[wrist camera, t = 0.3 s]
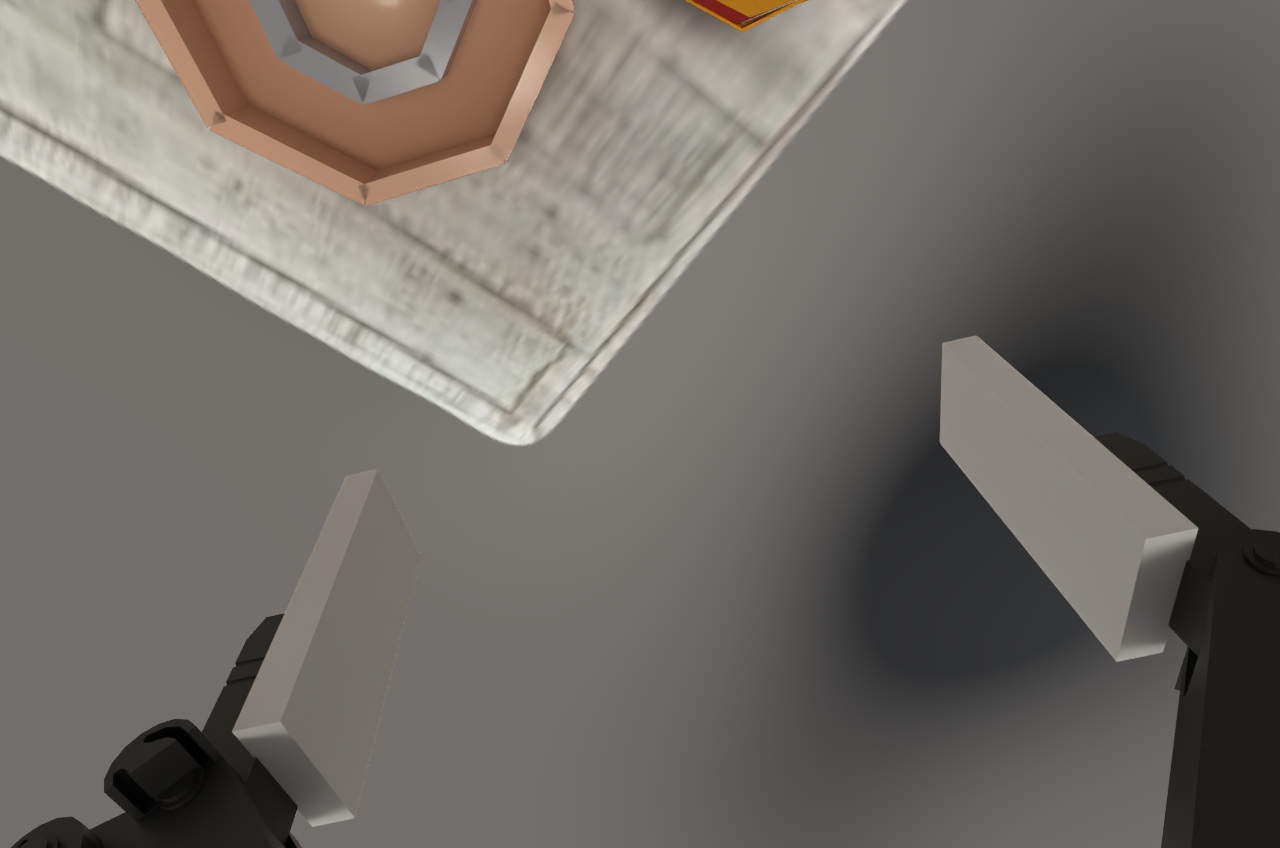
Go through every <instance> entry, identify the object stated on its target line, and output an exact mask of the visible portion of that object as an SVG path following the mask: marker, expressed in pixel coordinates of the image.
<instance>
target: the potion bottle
mask: <svg viewBox="0 0 1280 848" xmlns="http://www.w3.org/2000/svg"><path fill="white" fill-rule="evenodd" d="M685 1H687V2H689V3H691V4H693V5H694V6H696V7H698V8H700V9H702V10H703V11H705V12H707V13H709V14H711V15H712V16H714V17H716V18H718V19H720V20H721V21H723V22H725V23H727V24H729V25H730V26H732V27H734V28H736V29H738V30H739V31H741V32H743V31H745V30H747V29H749V28H751V27H753V26H755V25H757V24H759V23H761V22H763V21H765V20H767V19H769V18H771V17H773V16H775V15H777V14H779V13H781V12H783V11H785V10H787V9H789V8H791V7H793V6H795V5H797V4H800V3H802V2H804V1H807V0H798V1H796V2H793V3H791V4H788V5H786V6H784V7H781V8H779V9H776V10H774V11H771V12H769V13H767V14H764V15H762V16H759V17H757V18H754V19H752V20H750V21H747V22H745V23H742V24H741V22H744V21H746V20H748V19H751V18H753V17H755V16H758V15H760V14H762V13H765V12H767V11H769V10H772V9H774V8H776V7H779V6H782V5H784V4H787V3H790V2H792V1H795V0H685Z"/></svg>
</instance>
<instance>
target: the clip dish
mask: <svg viewBox="0 0 1280 848" xmlns="http://www.w3.org/2000/svg"><path fill="white" fill-rule="evenodd" d="M135 1H136V2H137V4H138V6H139V8H140V9H141V11H142V13H143V15H144V17H145V18H146V20H147V22H148V24H149V25H150V27H151V29H152V31H153V33H154V34H155V36H156V38H157V40H158V41H159V43H160V45H161V47H162V49H163V50H164V52H165V54H166V56H167V57H168V59H169V61H170V63H171V65H172V66H173V68H174V70H175V72H176V73H177V75H178V77H179V79H180V81H181V82H182V84H183V86H184V88H185V89H186V91H187V93H188V95H189V97H190V98H191V100H192V102H193V104H194V105H195V107H196V109H197V111H198V112H199V114H200V116H201V118H202V120H203V121H204V123H205V125H206V127H210V126H211V128H210V131H212V132H214V133H216V134H218V135H220V136H223V137H225V138H227V139H229V140H231V141H233V142H235V143H237V144H239V145H241V146H243V147H245V148H247V149H249V150H251V151H253V152H255V153H257V154H259V155H261V156H263V157H265V158H268V159H270V160H272V161H274V162H276V163H278V164H280V165H282V166H284V167H286V168H288V169H290V170H292V171H294V172H296V173H298V174H300V175H302V176H304V177H306V178H308V179H310V180H313V181H315V182H317V183H319V184H321V185H323V186H325V187H327V188H329V189H331V190H333V191H335V192H337V193H339V194H341V195H343V196H345V197H347V198H349V199H351V200H353V201H355V202H358V203H360V204H362V205H365V204H366V205H367V206H368V205H372V204H375V203H378V202H381V201H385V200H388V199H391V198H395V197H398V196H401V195H404V194H408V193H411V192H414V191H417V190H421V189H424V188H427V187H430V186H434V185H437V184H440V183H444V182H447V181H450V180H453V179H457V178H460V177H463V176H466V175H470V174H473V173H476V172H479V171H483V170H486V169H489V168H493V167H496V166H499V165H502V164H505V162H506V161H508V159H509V157H510V155H511V152H512V150H513V148H514V146H515V144H516V141H517V139H518V137H519V135H520V133H521V130H522V128H523V126H524V124H525V122H526V120H527V117H528V115H529V113H530V111H531V109H532V106H533V104H534V102H535V100H536V98H537V95H538V94H539V92H540V90H541V88H542V86H543V84H544V81H545V79H546V76H547V74H548V71H549V69H550V67H551V65H552V63H553V60H554V58H555V56H556V54H557V52H558V49H559V47H560V45H561V43H562V41H563V39H564V36H565V34H566V32H567V30H568V28H569V25H570V23H571V21H572V19H573V17H574V11H573V10H575V9H574V5H573V1H572V0H135Z"/></svg>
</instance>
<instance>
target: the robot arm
mask: <svg viewBox="0 0 1280 848" xmlns="http://www.w3.org/2000/svg"><path fill="white" fill-rule="evenodd" d="M940 422H941V423H940V443H941V445H942V446H943V447H944V448H945V450H946V451H947V452H948V453H949V455H950V456H951V457H952V458H953V460H954V461H955V462H956V463H957V465H958V466H959V467H960V468H961V470H962V471H963V472H964V473H965V474H966V475H967V477H968V478H969V479H970V481H971V482H972V483H973V484H974V486H975V487H976V488H977V489H978V491H979V492H980V493H981V494H982V496H983V497H984V498H985V499H986V500H987V502H988V503H989V504H990V505H991V507H992V508H993V509H994V510H995V512H996V513H997V514H998V515H999V517H1000V518H1001V519H1002V520H1003V522H1004V523H1005V524H1006V525H1007V526H1008V528H1009V529H1010V530H1011V531H1012V533H1013V534H1014V535H1015V536H1016V537H1017V539H1018V540H1019V541H1020V543H1021V544H1022V545H1023V546H1024V547H1025V549H1026V550H1027V551H1028V553H1029V554H1030V555H1031V556H1032V557H1033V559H1034V560H1035V561H1036V562H1037V564H1038V565H1039V566H1040V567H1041V569H1042V570H1043V571H1044V572H1045V574H1046V575H1047V576H1048V577H1049V579H1050V580H1051V581H1052V582H1053V584H1054V585H1055V586H1056V587H1057V588H1058V590H1059V591H1060V592H1061V593H1062V594H1063V596H1064V597H1065V598H1066V600H1067V601H1068V602H1069V603H1070V605H1071V606H1072V607H1073V608H1074V610H1075V611H1076V612H1077V613H1078V614H1079V616H1080V617H1081V618H1082V619H1083V621H1084V622H1085V623H1086V624H1087V626H1088V627H1089V628H1090V629H1091V631H1092V632H1093V633H1094V634H1095V636H1096V637H1097V638H1098V639H1099V640H1100V642H1101V643H1102V644H1103V645H1104V647H1105V648H1106V649H1107V650H1108V652H1109V653H1110V654H1111V655H1112V657H1113V658H1114V659H1115V660H1116V661H1117V662H1118V661H1123V660H1128V659H1133V658H1137V657H1143V656H1147V655H1152V654H1157V653H1162V652H1163V650H1164V647H1165V643H1166V640H1167V636H1168V633H1169V629H1170V628H1171V629H1172V630H1173V631H1174V632H1175V633H1176V634H1177V635H1178V636H1179V637H1180V638H1181V639H1182V640H1183V641H1184V643H1185V644H1186V645H1187V646H1188V648H1187V651H1186V654H1185V657H1184V660H1183V664H1182V667H1181V670H1180V673H1179V677H1178V680H1177V683H1176V686H1175V689H1176V690H1180V695H1179V705H1178V712H1177V720H1176V729H1175V737H1174V745H1173V753H1172V762H1171V770H1170V779H1169V787H1168V796H1167V804H1166V811H1165V820H1164V828H1163V837H1162V845H1161V848H1280V533H1279V532H1275V531H1265V530H1255V529H1253V530H1251V529H1250V528H1249V527H1248V526H1246V525H1245V524H1244V523H1243V522H1241V521H1240V520H1239V519H1238V518H1236V517H1235V516H1234V515H1233V514H1231V513H1230V512H1229V511H1227V510H1226V509H1225V508H1224V507H1223V506H1221V505H1220V504H1219V503H1218V502H1216V501H1215V500H1213V498H1211V497H1210V496H1209V495H1208V494H1206V493H1205V492H1204V491H1203V490H1201V489H1200V488H1199V487H1198V486H1196V485H1195V484H1194V483H1193V482H1191V481H1190V480H1189V479H1188V480H1185V478H1184V475H1183V474H1181V473H1180V472H1179V471H1178V470H1176V469H1175V468H1174V467H1173V466H1171V465H1169V466H1168V465H1167V462H1166V461H1165V460H1164V459H1163V458H1162V457H1160V456H1159V455H1158V454H1157V453H1155V452H1154V451H1153V450H1151V449H1150V448H1149V447H1148V446H1147V445H1145V444H1143V443H1140V442H1138V441H1135V440H1133V439H1131V438H1129V437H1126V436H1124V435H1122V434H1119V433H1117V432H1114V433H1109V434H1105V435H1100V436H1095V437H1093V436H1092V435H1091V434H1089V433H1088V432H1087V431H1086V430H1085V429H1084V428H1083V427H1081V426H1080V425H1079V424H1078V423H1077V422H1075V421H1074V420H1073V419H1072V418H1071V417H1070V416H1069V415H1068V414H1066V413H1065V412H1064V411H1063V410H1062V409H1061V408H1059V407H1058V406H1057V405H1056V404H1055V403H1054V402H1052V401H1051V400H1050V399H1049V398H1048V397H1047V396H1046V395H1044V394H1043V393H1042V392H1041V391H1040V390H1039V389H1038V388H1036V387H1035V386H1034V385H1033V384H1032V383H1030V382H1029V381H1028V380H1027V379H1026V378H1025V377H1024V376H1023V375H1021V374H1020V373H1019V372H1018V371H1017V370H1016V369H1014V368H1013V367H1012V366H1011V365H1010V364H1009V363H1008V362H1006V361H1005V360H1004V359H1003V358H1002V357H1001V356H999V355H998V354H997V353H996V352H995V351H994V350H993V349H991V348H990V347H989V346H988V345H987V344H985V343H984V342H983V341H982V340H981V339H980V338H979V337H978V336H972V337H968V338H963V339H959V340H954V341H950V342H945V343H943V345H942V381H941V420H940ZM420 560H421V553H420V551H419V549H418V548H417V545H416V543H415V541H414V539H413V538H412V535H411V533H410V531H409V529H408V527H407V525H406V523H405V521H404V519H403V517H402V515H401V513H400V511H399V510H398V507H397V506H396V503H395V501H394V499H393V498H392V495H391V493H390V491H389V490H388V487H387V486H386V483H385V481H384V479H383V477H382V475H381V474H380V472H379V469H374V470H370V471H365V472H361V473H356V474H352V475H347V476H346V477H345V479H344V482H343V484H342V486H341V488H340V490H339V493H338V495H337V497H336V499H335V502H334V504H333V506H332V508H331V511H330V513H329V515H328V517H327V520H326V522H325V524H324V526H323V529H322V531H321V533H320V536H319V538H318V540H317V542H316V544H315V547H314V549H313V551H312V553H311V555H310V558H309V560H308V563H307V564H306V567H305V569H304V571H303V574H302V576H301V578H300V580H299V583H298V585H297V587H296V589H295V592H294V594H293V596H292V598H291V600H290V603H289V605H288V607H287V609H286V612H285V613H284V614H280V615H275V616H270V617H266V619H265V620H264V621H263V622H262V623H261V624H260V625H259V626H258V628H257V629H256V630H255V631H254V632H253V633H252V634H251V635H250V637H249V638H248V639H247V640H246V642H245V645H244V646H243V649H242V650H241V653H240V655H239V657H238V659H237V661H236V667H234V668H233V669H232V671H231V673H230V675H229V678H228V679H227V681H226V682H227V686H225V687H224V688H223V690H222V692H221V694H220V696H219V698H218V700H217V702H216V704H215V706H214V708H213V710H212V712H211V714H210V717H209V718H208V720H207V722H206V725H205V727H204V729H203V731H202V733H201V731H200V730H199V729H198V728H197V727H196V726H195V725H194V724H193V723H191V722H190V721H189V720H183V719H174V720H170V721H167V722H164V723H160V724H158V725H156V726H154V727H152V728H151V729H149V730H147V731H146V732H144V733H142V734H140V735H139V736H138V737H137V738H136V739H135V740H133V741H132V742H131V743H130V744H129V745H127V746H126V747H125V748H124V749H123V751H122V752H121V753H120V754H119V755H118V757H117V758H116V759H115V760H114V761H113V763H112V764H111V766H110V768H109V770H108V772H107V774H106V777H105V779H104V792H105V793H106V794H107V795H108V796H109V797H110V798H111V799H112V800H113V801H115V802H116V803H117V804H118V805H119V806H120V807H121V808H122V809H123V810H124V811H126V812H125V813H123V814H121V815H119V816H117V817H115V818H113V819H111V820H109V821H107V822H104V823H102V824H100V825H98V826H96V827H94V828H92V829H90V830H89V829H88V828H87V827H86V826H85V825H83V824H82V823H81V822H80V821H78V820H76V819H75V818H73V817H63V818H56V819H54V820H51V821H49V822H47V823H45V824H42V825H40V826H39V827H37V828H35V829H34V830H32V831H31V832H29V833H28V834H26V835H25V836H24V837H22V838H21V839H20V840H19V841H18V842H16V843H15V844H14V845H13V846H12V847H11V848H301V846H300V844H299V843H298V841H297V840H296V839H295V837H294V836H293V835H292V834H291V833H290V829H291V826H292V823H293V820H294V817H295V814H296V811H297V809H298V810H299V811H300V813H301V814H302V815H303V816H304V817H305V819H306V820H307V821H308V822H309V823H310V824H311V826H312V827H314V826H319V825H323V824H328V823H333V822H338V821H343V820H348V819H352V818H355V817H356V812H357V809H358V805H359V801H360V797H361V793H362V789H363V785H364V781H365V777H366V773H367V769H368V765H369V761H370V757H371V753H372V750H373V745H374V741H375V738H376V734H377V730H378V726H379V722H380V718H381V714H382V710H383V706H384V702H385V698H386V694H387V690H388V686H389V682H390V678H391V674H392V670H393V667H394V662H395V659H396V654H397V651H398V647H399V643H400V639H401V635H402V631H403V627H404V623H405V619H406V615H407V611H408V607H409V603H410V599H411V595H412V591H413V587H414V584H415V579H416V576H417V572H418V567H419V563H420Z"/></svg>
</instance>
